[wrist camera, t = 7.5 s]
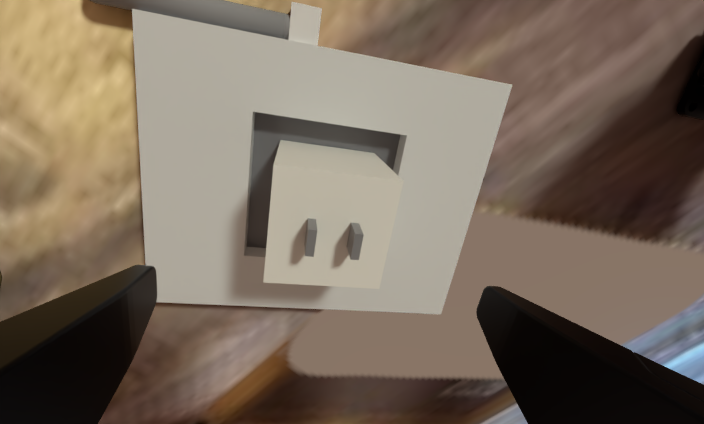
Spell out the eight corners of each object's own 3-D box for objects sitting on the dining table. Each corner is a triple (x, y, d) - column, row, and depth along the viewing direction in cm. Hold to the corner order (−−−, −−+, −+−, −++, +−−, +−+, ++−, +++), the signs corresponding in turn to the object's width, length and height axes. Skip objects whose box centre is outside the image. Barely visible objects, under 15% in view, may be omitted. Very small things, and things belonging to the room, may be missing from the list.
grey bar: (320, 12, 14) (321, 7, 13) (314, 58, 15) (316, 56, 14) (85, -40, 13) (68, -49, 12) (90, 15, 13) (74, 9, 12)
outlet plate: (498, 84, 17) (512, 84, 15) (433, 302, 21) (440, 314, 20) (145, 14, 13) (131, 8, 12) (156, 287, 18) (147, 301, 17)
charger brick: (374, 153, 17) (412, 189, 11) (358, 235, 18) (385, 304, 13) (280, 139, 16) (271, 172, 10) (272, 228, 17) (260, 298, 12)
